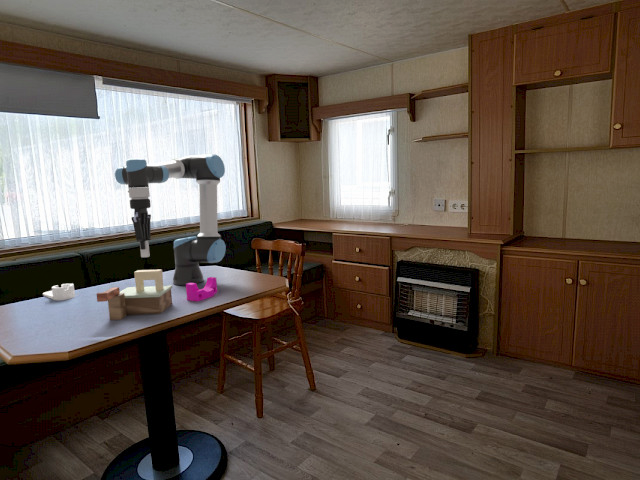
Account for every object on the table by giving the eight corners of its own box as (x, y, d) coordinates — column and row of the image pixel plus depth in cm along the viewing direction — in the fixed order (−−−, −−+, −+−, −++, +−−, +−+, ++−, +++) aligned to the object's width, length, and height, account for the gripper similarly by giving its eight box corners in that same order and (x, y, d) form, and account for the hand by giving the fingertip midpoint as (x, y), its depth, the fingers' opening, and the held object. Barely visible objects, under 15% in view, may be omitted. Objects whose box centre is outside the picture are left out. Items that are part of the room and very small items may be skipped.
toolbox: (130, 305, 182) (128, 284, 181) (172, 304, 182) (170, 283, 181) (107, 319, 163) (105, 296, 161) (154, 318, 162) (152, 294, 161)
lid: (128, 289, 181) (126, 268, 180) (172, 287, 181) (170, 266, 180) (111, 298, 167) (108, 275, 165) (159, 296, 166) (157, 273, 165)
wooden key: (112, 293, 164) (111, 286, 164) (120, 293, 164) (119, 285, 164) (97, 301, 153) (96, 293, 153) (106, 301, 153) (105, 293, 153)
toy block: (197, 302, 185) (195, 285, 184) (187, 300, 188) (185, 283, 187) (221, 293, 197) (220, 278, 196) (211, 292, 201) (210, 277, 200)
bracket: (78, 298, 198) (76, 285, 197) (57, 303, 191) (56, 289, 190) (61, 293, 211) (59, 280, 210) (41, 297, 204) (39, 283, 203)
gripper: (137, 198, 175) (143, 254, 179) (122, 199, 162) (128, 260, 165) (155, 197, 175) (161, 253, 179) (141, 198, 162) (147, 259, 165)
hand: (145, 256), depth 172 cm, fingers closed
